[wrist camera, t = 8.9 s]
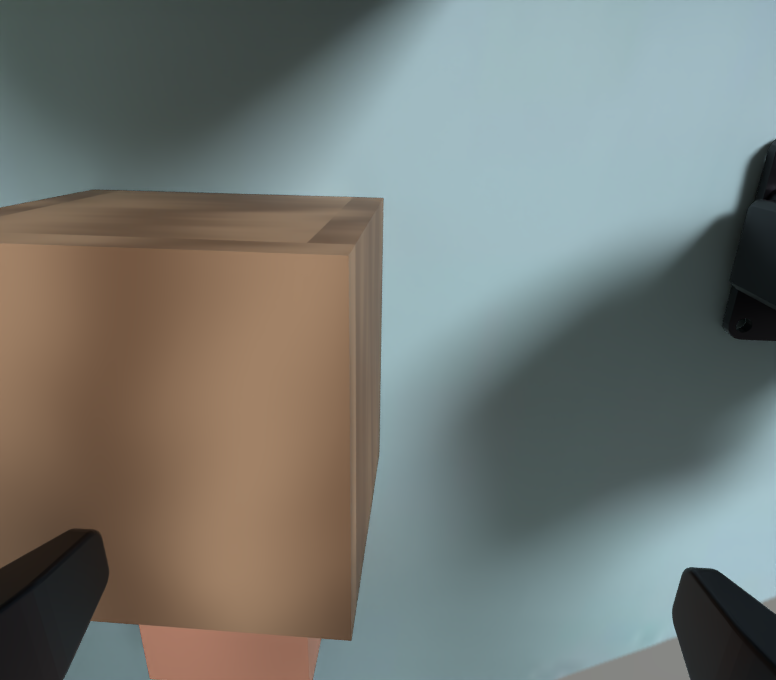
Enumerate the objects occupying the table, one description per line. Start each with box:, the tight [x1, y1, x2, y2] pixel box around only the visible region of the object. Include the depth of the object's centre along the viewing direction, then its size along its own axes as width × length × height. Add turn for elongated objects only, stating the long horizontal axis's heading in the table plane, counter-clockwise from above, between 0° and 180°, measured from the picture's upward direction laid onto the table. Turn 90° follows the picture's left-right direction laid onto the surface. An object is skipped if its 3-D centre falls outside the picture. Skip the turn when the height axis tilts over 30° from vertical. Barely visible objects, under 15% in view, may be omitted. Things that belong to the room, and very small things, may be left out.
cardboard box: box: [0, 190, 383, 641], centre depth 16 cm, size 10×10×8 cm
